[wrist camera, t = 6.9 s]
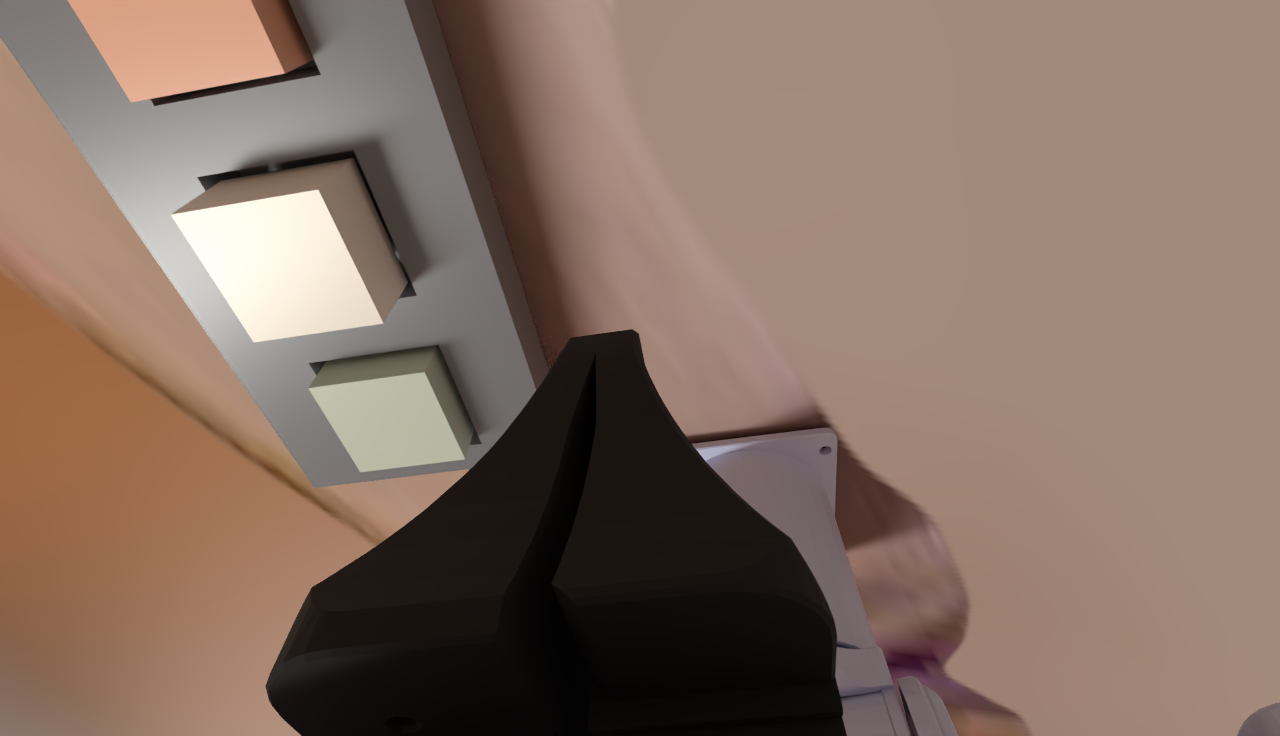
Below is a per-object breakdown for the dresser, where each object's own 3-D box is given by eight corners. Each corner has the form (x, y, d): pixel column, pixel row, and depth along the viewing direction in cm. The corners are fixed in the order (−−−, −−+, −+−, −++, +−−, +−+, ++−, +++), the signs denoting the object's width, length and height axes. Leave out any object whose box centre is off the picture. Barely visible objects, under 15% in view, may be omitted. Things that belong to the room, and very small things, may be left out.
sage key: (478, 415, 24) (465, 459, 22) (381, 428, 25) (360, 472, 23) (442, 330, 22) (424, 372, 20) (336, 346, 22) (308, 388, 20)
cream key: (407, 282, 20) (383, 323, 18) (290, 300, 20) (253, 342, 18) (353, 157, 17) (318, 189, 15) (221, 180, 18) (170, 214, 16)
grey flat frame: (564, 419, 26) (559, 457, 24) (335, 448, 27) (314, 487, 25) (353, -248, 14) (312, -271, 12) (-46, -154, 15) (-138, -161, 13)
